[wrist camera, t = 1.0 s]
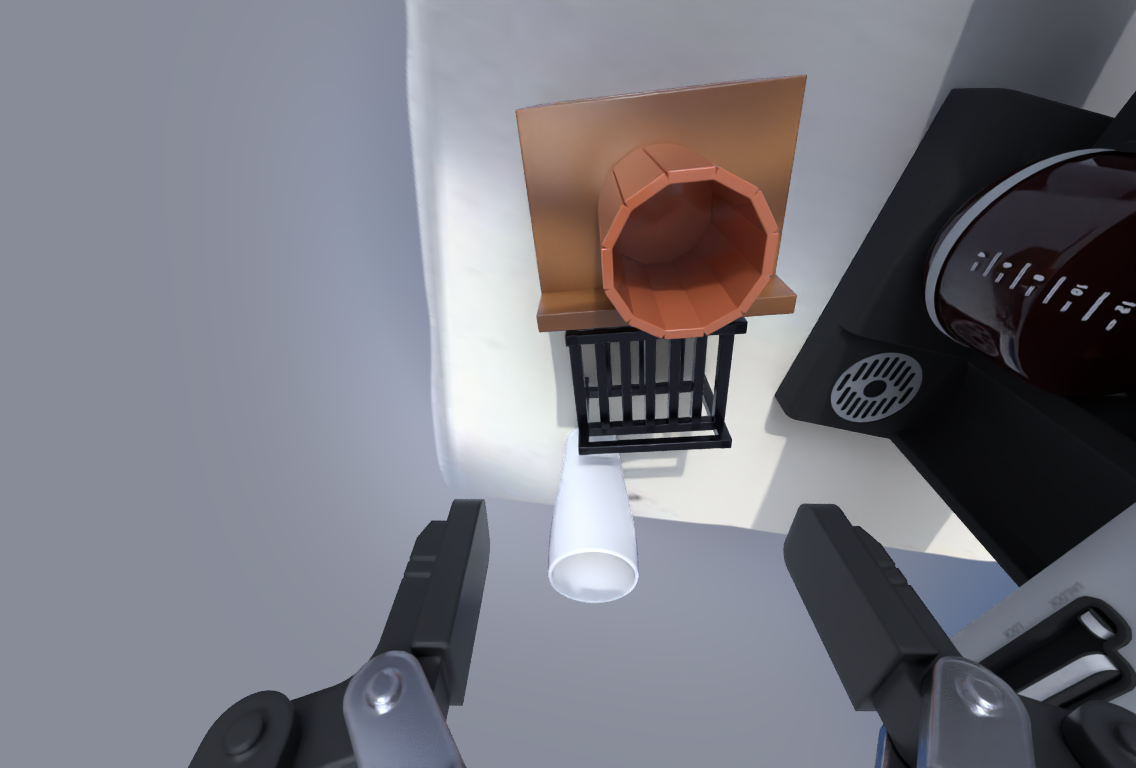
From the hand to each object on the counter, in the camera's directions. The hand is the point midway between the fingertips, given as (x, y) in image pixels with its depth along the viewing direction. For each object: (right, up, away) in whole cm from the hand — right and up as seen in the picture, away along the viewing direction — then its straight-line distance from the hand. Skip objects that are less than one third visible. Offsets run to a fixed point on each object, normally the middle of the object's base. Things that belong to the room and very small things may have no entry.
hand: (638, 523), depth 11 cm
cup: (+3, +13, +11) cm, 17 cm away
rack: (+4, +8, +26) cm, 28 cm away
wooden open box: (+3, +18, +19) cm, 27 cm away
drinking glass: (+1, -2, +33) cm, 33 cm away
